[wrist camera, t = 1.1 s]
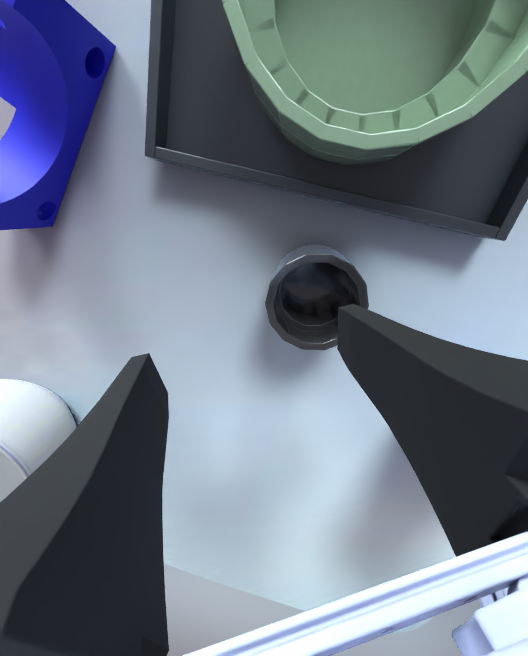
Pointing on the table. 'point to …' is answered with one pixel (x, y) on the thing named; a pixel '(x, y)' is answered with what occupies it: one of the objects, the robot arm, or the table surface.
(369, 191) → the tray
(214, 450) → the table surface
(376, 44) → the sage bowl
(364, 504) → the table surface
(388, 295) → the table surface
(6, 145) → the blue curved stand
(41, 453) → the teacup
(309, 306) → the black cup
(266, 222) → the table surface
